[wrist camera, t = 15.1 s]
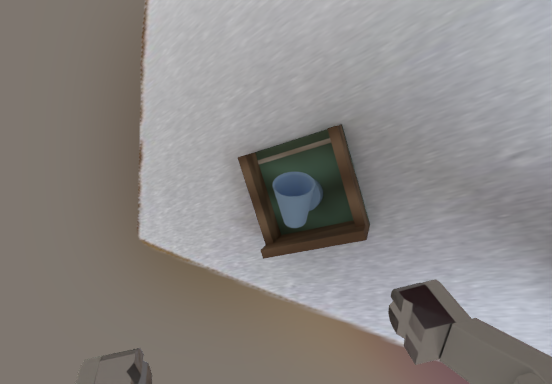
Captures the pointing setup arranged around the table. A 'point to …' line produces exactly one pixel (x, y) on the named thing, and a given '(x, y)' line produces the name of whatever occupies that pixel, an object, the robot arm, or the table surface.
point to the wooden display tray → (333, 207)
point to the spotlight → (296, 196)
